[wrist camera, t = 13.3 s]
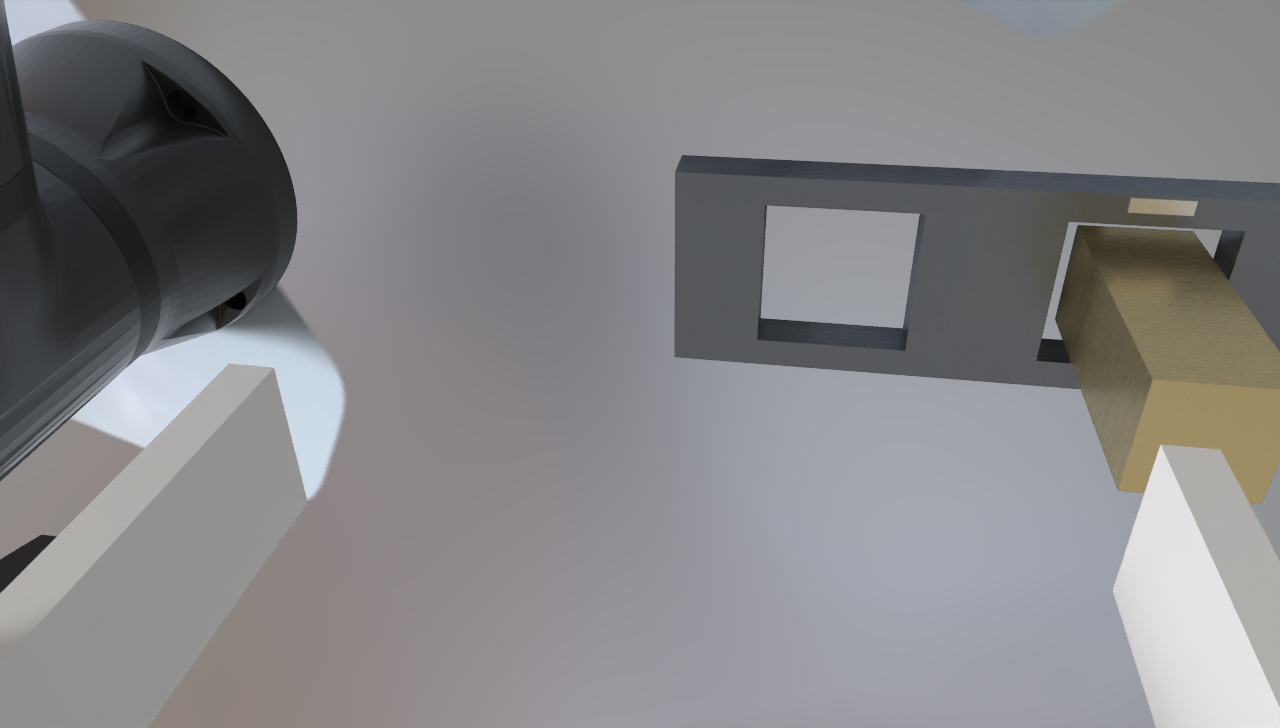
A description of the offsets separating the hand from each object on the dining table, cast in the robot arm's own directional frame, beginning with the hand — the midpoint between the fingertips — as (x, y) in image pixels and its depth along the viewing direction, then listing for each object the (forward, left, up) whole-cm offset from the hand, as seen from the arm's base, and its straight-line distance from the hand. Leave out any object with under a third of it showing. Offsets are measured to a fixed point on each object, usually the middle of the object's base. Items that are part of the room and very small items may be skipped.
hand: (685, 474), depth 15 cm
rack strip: (+9, -10, -29) cm, 32 cm away
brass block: (+15, -10, -29) cm, 34 cm away
